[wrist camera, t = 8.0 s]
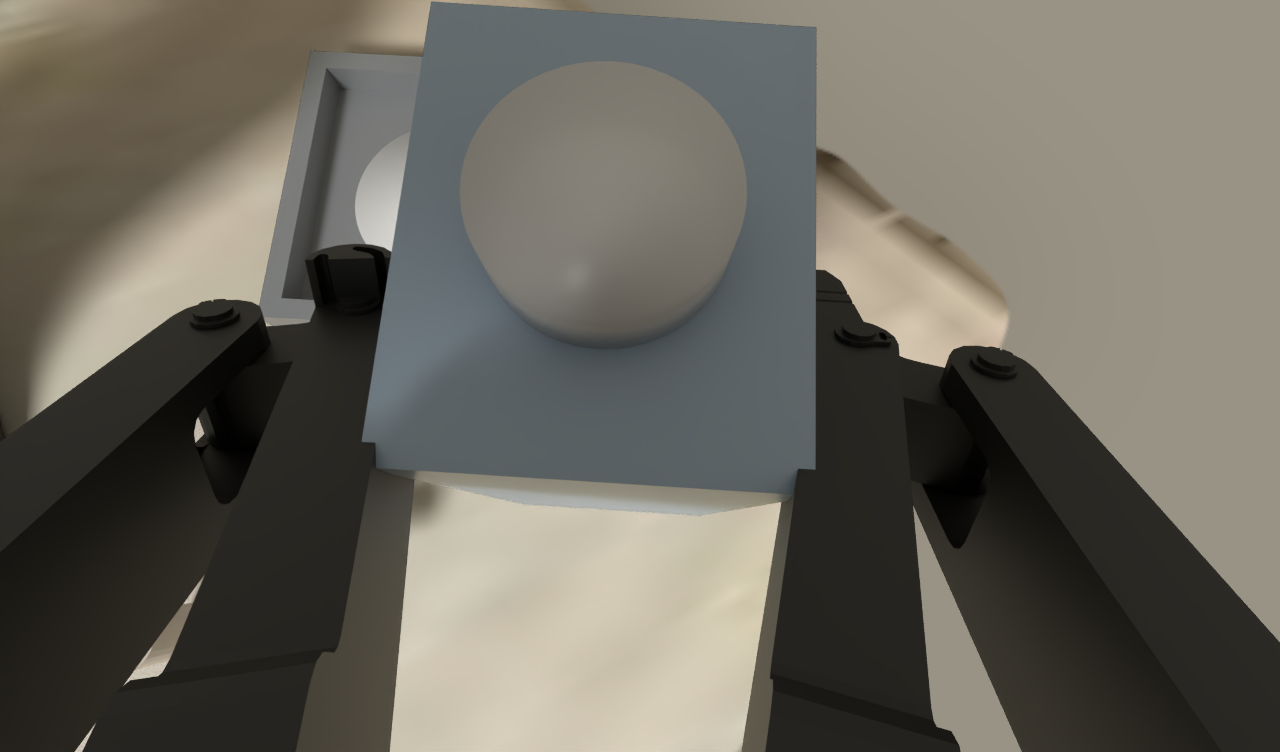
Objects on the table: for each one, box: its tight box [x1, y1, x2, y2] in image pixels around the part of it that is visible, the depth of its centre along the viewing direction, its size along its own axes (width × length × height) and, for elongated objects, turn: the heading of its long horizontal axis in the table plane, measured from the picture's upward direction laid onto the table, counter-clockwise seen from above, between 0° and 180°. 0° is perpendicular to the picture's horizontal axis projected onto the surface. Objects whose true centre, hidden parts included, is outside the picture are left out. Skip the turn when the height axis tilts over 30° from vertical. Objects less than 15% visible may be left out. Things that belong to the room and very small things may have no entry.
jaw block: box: [362, 2, 816, 516], centre depth 13 cm, size 5×6×13 cm
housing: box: [259, 51, 422, 326], centre depth 35 cm, size 15×15×2 cm
